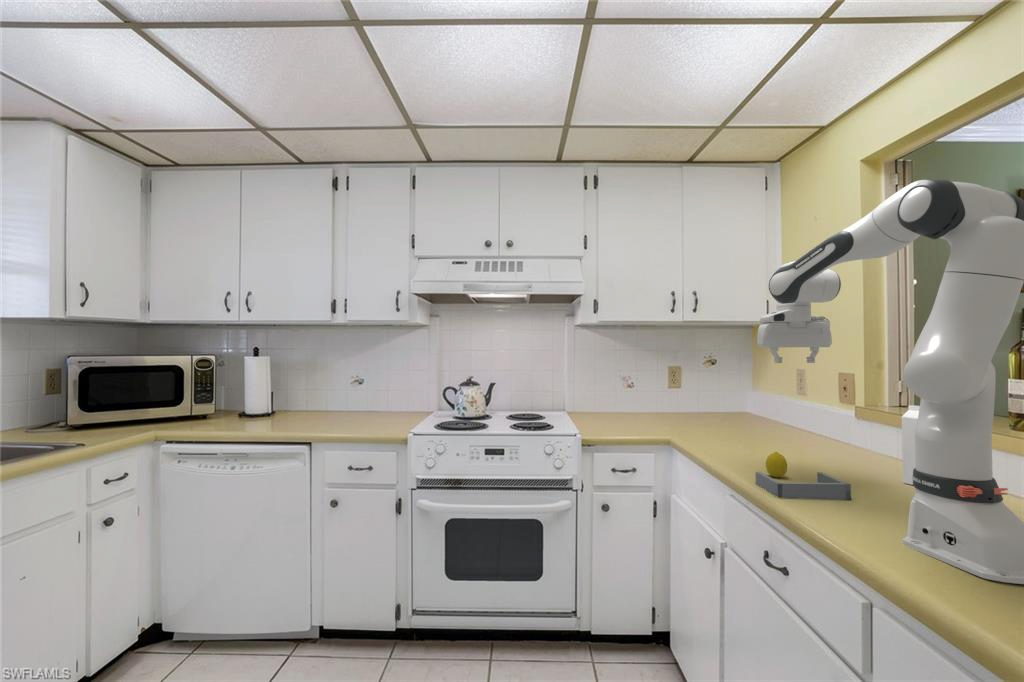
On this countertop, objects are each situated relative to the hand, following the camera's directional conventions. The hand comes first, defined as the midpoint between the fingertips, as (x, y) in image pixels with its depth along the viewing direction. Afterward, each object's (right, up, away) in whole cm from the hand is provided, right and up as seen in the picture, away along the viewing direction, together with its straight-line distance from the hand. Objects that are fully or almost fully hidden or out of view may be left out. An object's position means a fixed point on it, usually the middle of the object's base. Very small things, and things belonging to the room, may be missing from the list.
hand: (794, 362), depth 141 cm
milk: (+31, -34, -8) cm, 47 cm away
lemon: (-6, -34, -2) cm, 35 cm away
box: (-8, -34, -15) cm, 38 cm away
